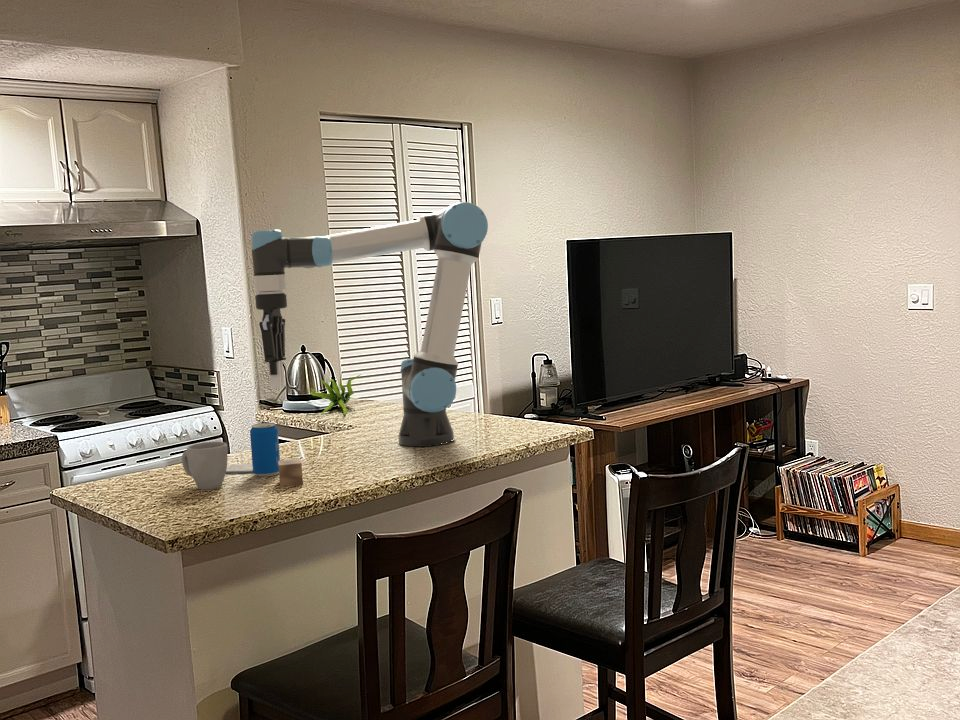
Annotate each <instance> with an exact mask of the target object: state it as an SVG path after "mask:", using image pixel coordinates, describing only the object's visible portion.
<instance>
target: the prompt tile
mask: <svg viewBox="0 0 960 720" xmlns="http://www.w3.org/2000/svg"><path fill="white" fill-rule="evenodd" d="M241 474H242V475H244V474H245V475H246V474H249V475H250V474H254V473H253V466H252V463H233V464H231V465H230V466H227V469H226V474H225V475H241Z"/></svg>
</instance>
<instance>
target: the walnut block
mask: <svg viewBox="0 0 960 720" xmlns="http://www.w3.org/2000/svg"><path fill="white" fill-rule="evenodd" d="M278 467H279V472H278V478H279V479H278V480H279V481H278V482H279V487H280V488H282V487H283V488H284V487H285V488H286V487H292V486H293V487H294V486H302V485H304V482H303V481H304V479H303V468H302V460H301V458H298V459H297V458H296V459H287V460H280V461H278Z"/></svg>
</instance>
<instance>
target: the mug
mask: <svg viewBox="0 0 960 720" xmlns="http://www.w3.org/2000/svg"><path fill="white" fill-rule="evenodd" d="M228 456H229V455H228V445H227V443H226V442H224V441H207V442H198V443H194V444H190V445H188V446H187V447H186V450H184V451H183V452H182V454H181V464H182V468H183V470H184V472H185V474H186V475H187V476H188V477H191V478H192V479H193V481H194V483H195V485H196V486H197V489H198V490H201V491H202V490H203V491H205V490H206V491H209V490H215V489H219V488H222V486H223V483H224V479H225V476H226V475H227V474H226V469H227V468H228V458H229V457H228Z"/></svg>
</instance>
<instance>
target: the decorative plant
mask: <svg viewBox="0 0 960 720" xmlns="http://www.w3.org/2000/svg"><path fill="white" fill-rule="evenodd" d="M361 375H362V374H359V375H357V376H355V377H353V378H349V379H348V380H347V382H346V387H345V386H344V385H343V384H342V372H340V379H339V386H338V384H337V383H336V380H334V379H332V378H330V379H329V376H328V375H326V376H327V380H328V381H329V382H331V386H332V387H331V386H330V385H329V384H328V383H327V382H325V380H323V379H321V378H320V377H318V379H319V380H320V381H321V382H322V384H323V385H324V387H325V389H326V390H327V392H328V393H325V392H317V391H316V392H315V390H314V388H310V392H309V393H310V394H311V396H314V397H319V398H322V399H325V400H329V401H330V403H329V404H328V406H327V407H326V408H325V409H324V410H323V411H322V412H321V413H320V414H316V416H321V415H323V414H325V413H326V412H327V411H329V410H331V409H332V408H334V407H337V406H338V407H340V408H341V409H342V410H343V414H344V416H346V415H347V413H348V410H347V409H348V408H347V407H346V405H347V403H349V401H350V399H351V396H352V395H354V390H353V388H352V381H354V380H355V379H357V378H358V377H360V376H361ZM339 387H340V388H339ZM346 388H347V389H346ZM340 390H341V391H340ZM346 390H347V392H346ZM345 392H346V393H345Z"/></svg>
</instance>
